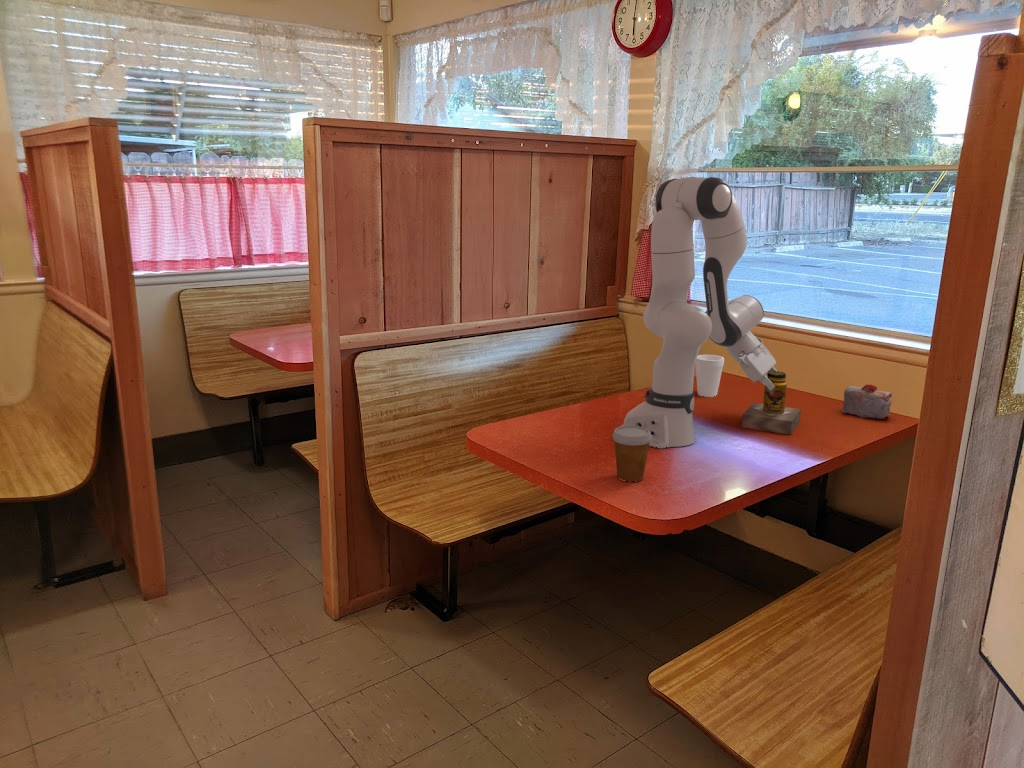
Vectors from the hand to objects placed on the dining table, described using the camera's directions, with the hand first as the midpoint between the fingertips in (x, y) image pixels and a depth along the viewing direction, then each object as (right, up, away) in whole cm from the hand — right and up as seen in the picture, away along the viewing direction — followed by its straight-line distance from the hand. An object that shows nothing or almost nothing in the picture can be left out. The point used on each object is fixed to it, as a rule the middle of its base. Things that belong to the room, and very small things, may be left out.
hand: (776, 384), depth 221 cm
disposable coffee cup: (-49, -23, -38) cm, 66 cm away
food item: (+32, -10, +13) cm, 36 cm away
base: (0, -12, +3) cm, 12 cm away
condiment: (0, -8, +3) cm, 9 cm away
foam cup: (-11, -4, +36) cm, 38 cm away
